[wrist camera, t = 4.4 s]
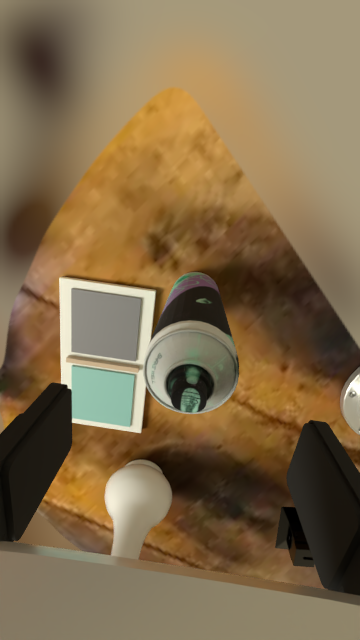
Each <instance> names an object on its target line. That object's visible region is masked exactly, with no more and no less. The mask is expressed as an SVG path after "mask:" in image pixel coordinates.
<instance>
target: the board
mask: <svg viewBox="0 0 360 640" xmlns="http://www.w3.org/2000/svg"><path fill="white" fill-rule="evenodd" d="M59 283H60V341H61V384H66V385H67V386H68V389H71V390H72V423H79V424H85V425H92V426H98V427H105V428H111V429H118V430H124V431H131V432H137V433H141V431H142V424H143V414H144V405H145V395H146V384H145V381H144V376H143V365H144V358H145V353H146V350H147V348H148V345H149V343H150V340H151V337H152V328H153V318H154V309H155V299H156V290H153V289H146V288H139V287H133V286H126V285H119V284H112V283H105V282H98V281H91V280H84V279H77V278H70V277H60V278H59Z"/></svg>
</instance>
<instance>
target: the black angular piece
mask: <svg viewBox="0 0 360 640" xmlns="http://www.w3.org/2000/svg"><path fill="white" fill-rule="evenodd" d="M275 548H281V549H288V550H289V553H290V557H291V560H292V562H293V565H294V566H305V567H314V564H315V563H314V560H313V557H312V554H311V551H310V548H309V545H308V543H307V540H306V537H305V534H304V531H303V528H302V525H301V522H300V519H299V516H298V513H297V510H296V508H295V507H282V508H281V514H280V521H279V527H278V534H277V540H276V547H275Z"/></svg>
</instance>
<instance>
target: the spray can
mask: <svg viewBox="0 0 360 640" xmlns="http://www.w3.org/2000/svg"><path fill="white" fill-rule="evenodd" d="M143 376H144V381H145V384H146V386H147V388H148V390H149V392H150V393H151V395H152V396H153V397H154V398H155V399H156V400H157V401H158V402H159V403H160V404H162V405H163V406H165V407H166V408H169V409H171V410H173V411H176V412H180V413H186V414H199V413H204V412H208V411H211V410H213V409H215V408H218V407H219V406H220V405H222V404H223V403H225V402H226V401H227V400H228V399H229V398H230V396H231V395H232V393H233V392H234V390H235V388H236V385H237V383H238V377H239V362H238V356H237V352H236V349H235V345H234V342H233V338H232V335H231V331H230V328H229V324H228V321H227V317H226V314H225V311H224V307H223V304H222V300H221V297H220V293H219V290H218V287H217V285H216V283H215V282H214V280H213V279H212V278H211V277H209V276H208V275H206V274H204V273H200V272H190V273H187V274H185V275H183V276H181V277H180V278H179V279H178V280H177V281H176V282H175V284H174V286H173V288H172V290H171V293H170V295H169V297H168V300H167V302H166V305H165V307H164V309H163V312H162V314H161V317H160V319H159V321H158V324H157V326H156V328H155V331H154V333H153V336H152V338H151V340H150V343H149V345H148V348H147V350H146V353H145V358H144V365H143Z"/></svg>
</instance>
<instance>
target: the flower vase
mask: <svg viewBox="0 0 360 640" xmlns="http://www.w3.org/2000/svg"><path fill="white" fill-rule="evenodd" d="M171 503H172V490H171V487H170V484H169V482H168V480H167V479H166V478H165V476H164V475H163V473H162V470H161V469H160V468H159V466H157V465H156V464H155V463H153V462H151V461H148V460H142V459H139V460H134V461H131V462H129V463H128V464H127V465H126V466H125V467H122V468H120V469H119V470H118V471H116V472H115V473H114V474H113V475H112V476H111V477H110V479H109V480H108V482H107V485H106V489H105V505H106V508H107V511H108V513H109V515H110V517H111V518H112V520H113V525H114V539H113V546H112V552H111V556H117V557H124V558H131V559H137V560H139V555H140V552H141V548H142V545H143V542H144V540H145V538H146V536H147V534H148V533H149V531H150V530H151V529H152V528H153V527H154V526H156V525H157V524H159V523H160V522H161V521H162V520H163V518H164V517H165V516H166V515H167V513H168V511H169V508H170V505H171Z"/></svg>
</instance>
